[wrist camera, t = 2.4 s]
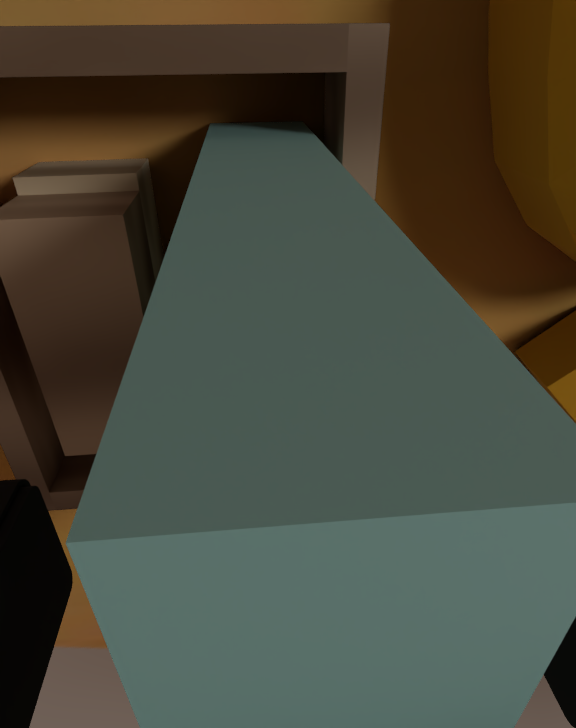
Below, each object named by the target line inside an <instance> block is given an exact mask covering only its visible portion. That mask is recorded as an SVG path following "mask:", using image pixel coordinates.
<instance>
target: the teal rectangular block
mask: <svg viewBox="0 0 576 728" xmlns="http://www.w3.org/2000/svg"><path fill="white" fill-rule="evenodd" d="M66 545H67V547H68V550H69V552H70V555H71V557H72V560H73V562H74V565H75V567H76V570H77V572H78V575H79V577H80V580H81V582H82V585H83V587H84V590H85V592H86V595H87V597H88V600H89V602H90V604H91V607H92V609H93V612H94V614H95V617H96V619H97V622H98V624H99V627H100V629H101V632H102V634H103V637H104V639H105V642H106V644H107V647H108V649H109V651H110V654H111V657H112V659H113V662H114V664H115V667H116V669H117V672H118V674H119V677H120V679H121V682H122V684H123V687H124V689H125V692H126V694H127V697H128V699H129V702H130V704H131V706H132V709H133V711H134V714H135V716H136V719H137V721H138V724H139V726H140V728H514V727H515V725H516V723H517V721H518V719H519V717H520V716H521V714H522V712H523V710H524V709H525V707H526V705H527V703H528V701H529V700H530V698H531V696H532V694H533V692H534V690H535V689H536V687H537V685H538V683H539V682H540V680H541V678H542V676H543V674H544V673H545V671H546V669H547V667H548V665H549V664H550V662H551V660H552V658H553V656H554V655H555V653H556V651H557V649H558V647H559V646H560V644H561V642H562V640H563V638H564V637H565V635H566V633H567V631H568V630H569V628H570V626H571V624H572V622H573V621H574V619H575V617H576V423H575V422H574V421H573V420H572V419H571V418H570V417H569V416H568V415H567V413H566V412H565V411H564V410H563V409H562V408H561V407H560V406H559V405H558V404H557V402H556V401H555V400H554V399H553V398H552V397H551V396H550V395H549V394H548V392H547V391H546V390H545V389H544V388H543V387H542V386H541V385H540V384H539V382H538V381H537V380H536V379H535V378H534V377H533V376H532V375H531V374H530V373H529V371H528V370H527V369H526V368H525V367H524V366H523V365H522V364H521V363H520V361H519V360H518V359H517V358H516V357H515V356H514V355H513V354H512V353H511V351H510V350H509V349H508V348H507V347H506V346H505V345H504V344H503V343H502V341H501V340H500V339H499V338H498V337H497V336H496V335H495V334H494V333H493V332H492V330H491V329H490V328H489V327H488V326H487V325H486V324H485V323H484V322H483V320H482V319H481V318H480V317H479V316H478V315H477V314H476V313H475V312H474V310H473V309H472V308H471V307H470V306H469V305H468V304H467V303H466V302H465V300H464V299H463V298H462V297H461V296H460V295H459V294H458V293H457V292H456V291H455V289H454V288H453V287H452V286H451V285H450V284H449V283H448V282H447V281H446V279H445V278H444V277H443V276H442V275H441V274H440V273H439V272H438V271H437V269H436V268H435V267H434V266H433V265H432V264H431V263H430V262H429V261H428V260H427V258H426V257H425V256H424V255H423V254H422V253H421V252H420V251H419V250H418V248H417V247H416V246H415V245H414V244H413V243H412V242H411V241H410V240H409V238H408V237H407V236H406V235H405V234H404V233H403V232H402V231H401V230H400V228H399V227H398V226H397V225H396V224H395V223H394V222H393V221H392V220H391V219H390V217H389V216H388V215H387V214H386V213H385V212H384V211H383V210H382V209H381V207H380V206H379V205H378V204H377V203H376V202H375V201H374V200H373V199H372V197H371V196H370V195H369V194H368V193H367V192H366V191H365V190H364V189H363V188H362V186H361V185H360V184H359V183H358V182H357V181H356V180H355V179H354V178H353V176H352V175H351V174H350V173H349V172H348V171H347V170H346V169H345V168H344V166H343V165H342V164H341V163H340V162H339V161H338V160H337V159H336V158H335V156H334V155H333V154H332V153H331V152H330V151H329V150H328V149H327V148H326V147H325V145H324V144H323V143H322V142H321V141H320V140H319V139H318V138H317V137H316V135H315V134H314V133H313V132H312V131H311V130H310V129H309V128H308V127H307V125H306V124H305V123H304V122H303V121H291V122H246V123H210V126H209V129H208V132H207V135H206V137H205V140H204V143H203V146H202V149H201V152H200V155H199V158H198V161H197V164H196V166H195V169H194V172H193V175H192V178H191V181H190V184H189V187H188V190H187V193H186V195H185V198H184V201H183V204H182V207H181V210H180V213H179V216H178V219H177V222H176V225H175V227H174V230H173V233H172V236H171V239H170V242H169V245H168V248H167V251H166V254H165V256H164V259H163V262H162V265H161V268H160V271H159V274H158V277H157V280H156V283H155V285H154V288H153V291H152V294H151V297H150V300H149V303H148V306H147V309H146V312H145V314H144V317H143V320H142V323H141V326H140V329H139V332H138V335H137V338H136V341H135V343H134V346H133V349H132V352H131V355H130V358H129V361H128V364H127V367H126V370H125V372H124V375H123V378H122V381H121V384H120V387H119V390H118V393H117V396H116V399H115V401H114V404H113V407H112V410H111V413H110V416H109V419H108V422H107V425H106V428H105V430H104V433H103V436H102V439H101V442H100V445H99V448H98V451H97V454H96V457H95V460H94V462H93V465H92V468H91V471H90V474H89V477H88V480H87V483H86V486H85V489H84V491H83V494H82V497H81V500H80V503H79V506H78V509H77V512H76V515H75V518H74V520H73V523H72V526H71V529H70V532H69V535H68V538H67V541H66Z"/></svg>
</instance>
